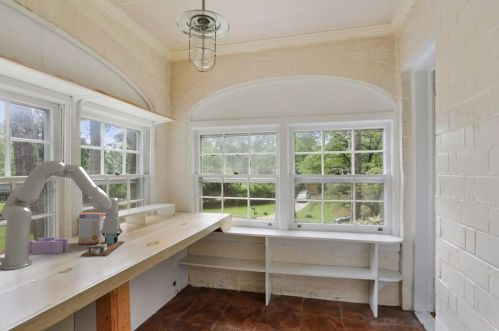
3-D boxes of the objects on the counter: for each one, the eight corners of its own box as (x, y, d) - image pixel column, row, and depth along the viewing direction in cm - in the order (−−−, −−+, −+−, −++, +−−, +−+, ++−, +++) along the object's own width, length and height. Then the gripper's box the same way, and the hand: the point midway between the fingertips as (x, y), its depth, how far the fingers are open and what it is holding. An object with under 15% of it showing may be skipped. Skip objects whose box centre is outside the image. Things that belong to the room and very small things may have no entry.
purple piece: (72, 248, 167) (72, 237, 167) (57, 255, 155) (57, 243, 155) (41, 247, 168) (42, 236, 168) (24, 253, 156) (24, 242, 156)
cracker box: (103, 242, 182) (104, 212, 183) (98, 244, 176) (99, 213, 177) (83, 241, 182) (84, 211, 183) (77, 244, 176) (79, 213, 176)
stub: (105, 244, 175) (105, 234, 175) (108, 241, 180) (109, 233, 180) (113, 244, 175) (113, 234, 175) (116, 241, 180) (116, 233, 180)
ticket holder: (81, 256, 153) (81, 247, 153) (102, 242, 181) (103, 235, 181) (106, 256, 155) (106, 247, 155) (124, 242, 183) (124, 235, 183)
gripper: (96, 216, 173) (95, 244, 173) (123, 217, 175) (122, 244, 175) (101, 214, 181) (100, 241, 180) (127, 215, 182) (126, 241, 182)
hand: (111, 242), depth 177 cm, fingers closed on stub, 5 cm apart
